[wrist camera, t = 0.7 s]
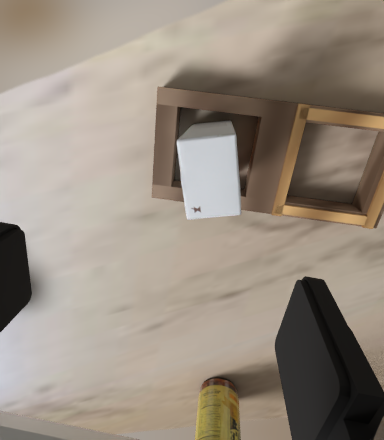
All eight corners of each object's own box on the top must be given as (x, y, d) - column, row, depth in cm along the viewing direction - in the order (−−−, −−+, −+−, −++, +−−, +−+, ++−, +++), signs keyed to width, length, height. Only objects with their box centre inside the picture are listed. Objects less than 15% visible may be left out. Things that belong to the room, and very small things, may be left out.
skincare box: (235, 175, 32) (242, 218, 21) (197, 178, 33) (184, 222, 22) (232, 117, 30) (237, 132, 19) (191, 122, 30) (173, 139, 19)
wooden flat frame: (406, 116, 28) (424, 118, 25) (365, 218, 32) (377, 229, 30) (162, 86, 29) (156, 86, 26) (156, 190, 34) (151, 198, 31)
